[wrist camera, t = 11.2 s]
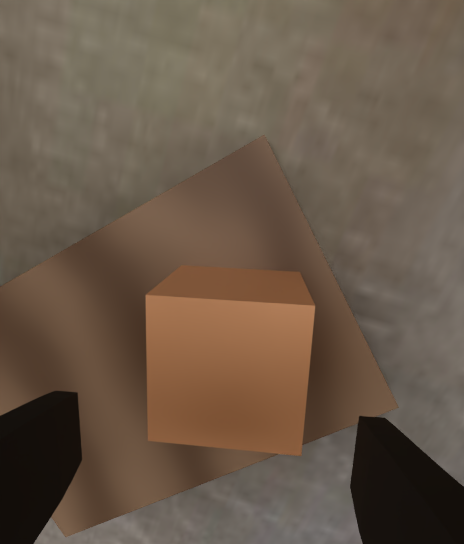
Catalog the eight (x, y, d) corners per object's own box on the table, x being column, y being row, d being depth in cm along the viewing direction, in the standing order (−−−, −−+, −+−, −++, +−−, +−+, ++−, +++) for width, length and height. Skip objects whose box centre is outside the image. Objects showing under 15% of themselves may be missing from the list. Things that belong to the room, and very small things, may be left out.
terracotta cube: (290, 381, 17) (301, 456, 12) (180, 372, 17) (147, 440, 12) (299, 272, 16) (315, 305, 11) (181, 265, 16) (145, 294, 11)
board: (79, 514, 22) (65, 537, 20) (-54, 322, 20) (-80, 332, 18) (387, 390, 18) (398, 407, 17) (264, 140, 16) (264, 134, 15)
